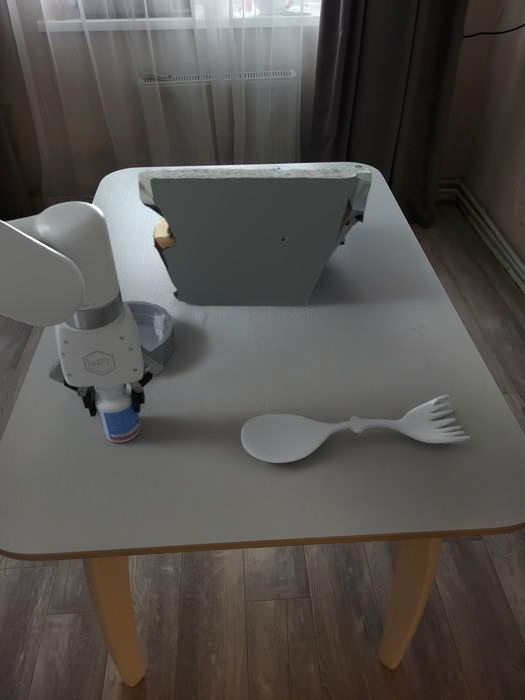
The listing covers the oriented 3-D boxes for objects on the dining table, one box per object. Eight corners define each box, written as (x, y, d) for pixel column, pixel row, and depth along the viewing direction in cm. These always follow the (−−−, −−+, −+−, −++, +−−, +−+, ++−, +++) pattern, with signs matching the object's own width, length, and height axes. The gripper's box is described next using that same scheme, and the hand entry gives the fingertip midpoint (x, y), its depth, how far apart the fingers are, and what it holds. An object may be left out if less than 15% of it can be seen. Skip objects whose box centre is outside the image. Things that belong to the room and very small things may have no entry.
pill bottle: (148, 425, 83) (139, 378, 77) (123, 449, 80) (111, 401, 73) (121, 411, 85) (110, 363, 79) (95, 433, 82) (81, 386, 75)
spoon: (467, 453, 79) (473, 437, 77) (244, 473, 77) (243, 457, 74) (445, 407, 86) (450, 391, 84) (238, 424, 83) (238, 408, 81)
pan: (102, 391, 89) (96, 371, 86) (72, 338, 99) (66, 318, 96) (190, 357, 95) (188, 337, 92) (154, 311, 105) (151, 291, 102)
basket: (345, 227, 128) (351, 102, 110) (371, 308, 104) (383, 165, 86) (172, 240, 128) (150, 117, 110) (159, 323, 105) (127, 184, 87)
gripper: (11, 329, 64) (50, 433, 76) (161, 318, 66) (177, 422, 77) (24, 292, 70) (59, 394, 81) (162, 283, 71) (177, 384, 83)
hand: (116, 406), depth 79 cm, fingers closed on pill bottle, 5 cm apart
